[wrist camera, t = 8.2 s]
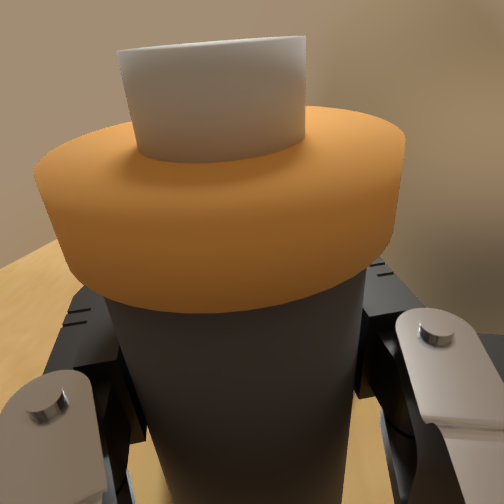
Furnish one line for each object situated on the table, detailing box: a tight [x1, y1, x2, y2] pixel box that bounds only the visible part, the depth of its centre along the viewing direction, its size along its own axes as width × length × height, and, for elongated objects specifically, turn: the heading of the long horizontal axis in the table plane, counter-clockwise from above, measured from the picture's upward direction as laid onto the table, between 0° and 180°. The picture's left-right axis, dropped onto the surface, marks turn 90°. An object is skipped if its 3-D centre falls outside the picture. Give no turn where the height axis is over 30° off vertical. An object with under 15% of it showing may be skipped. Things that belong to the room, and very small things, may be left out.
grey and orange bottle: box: [34, 36, 406, 504], centre depth 8 cm, size 5×5×12 cm
